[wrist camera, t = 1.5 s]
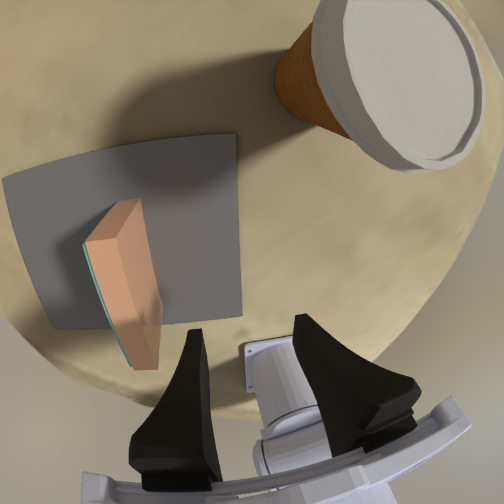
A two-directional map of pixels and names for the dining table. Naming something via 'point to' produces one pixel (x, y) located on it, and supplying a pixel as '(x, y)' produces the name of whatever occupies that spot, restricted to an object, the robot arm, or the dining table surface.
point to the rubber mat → (155, 217)
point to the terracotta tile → (127, 282)
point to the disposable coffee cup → (388, 80)
